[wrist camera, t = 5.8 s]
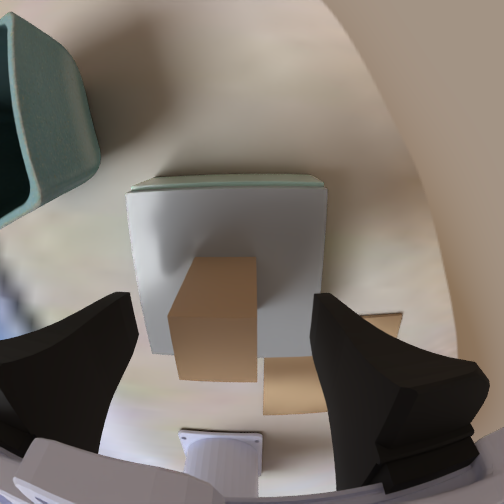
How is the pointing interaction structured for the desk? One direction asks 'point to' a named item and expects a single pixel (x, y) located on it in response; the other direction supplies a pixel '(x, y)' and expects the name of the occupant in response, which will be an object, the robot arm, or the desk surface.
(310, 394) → the mat
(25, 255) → the desk surface
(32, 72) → the flower pot
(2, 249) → the desk surface
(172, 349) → the lid
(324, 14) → the desk surface
